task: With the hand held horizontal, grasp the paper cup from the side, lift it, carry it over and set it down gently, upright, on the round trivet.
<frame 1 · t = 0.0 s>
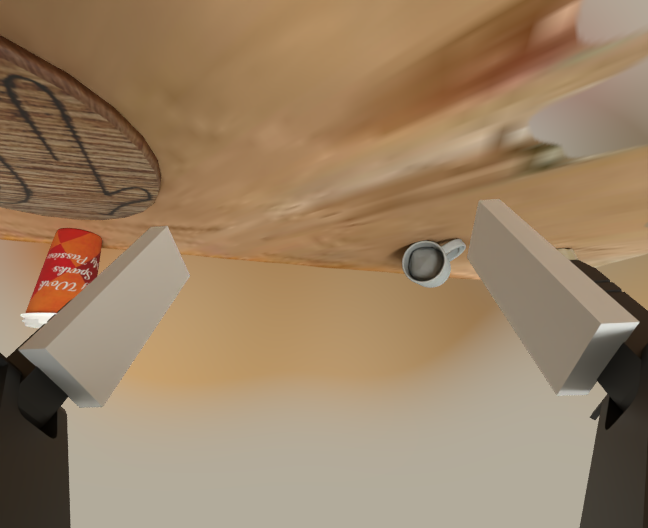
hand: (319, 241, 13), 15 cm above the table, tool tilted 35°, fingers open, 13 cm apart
ceramic mug: (431, 244, 55), on the table
paper cup: (80, 234, 46), on the table
trivet: (9, 136, 27), on the table
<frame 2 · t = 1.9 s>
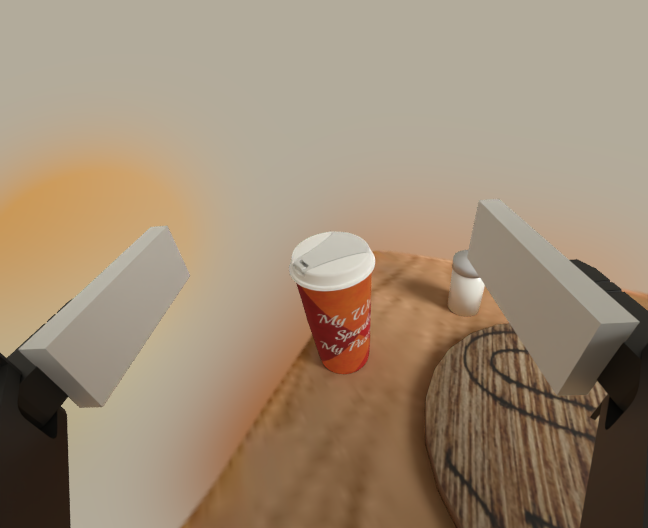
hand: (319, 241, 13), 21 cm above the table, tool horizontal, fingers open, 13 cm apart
salt shaker: (462, 306, 37), on the table
paper cup: (345, 353, 34), on the table
trivet: (591, 458, 23), on the table
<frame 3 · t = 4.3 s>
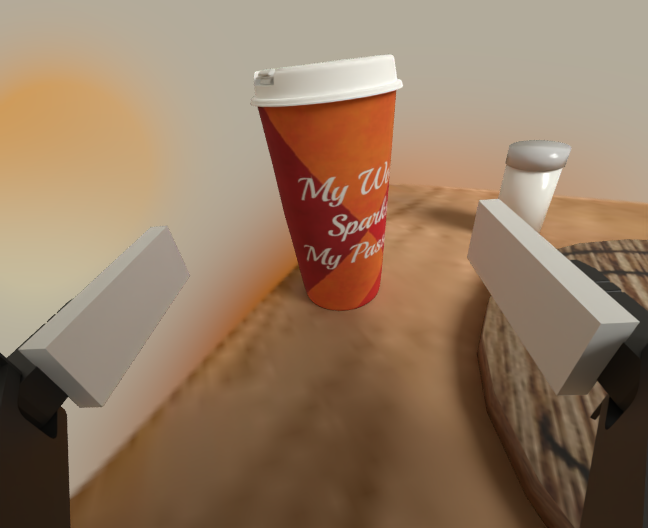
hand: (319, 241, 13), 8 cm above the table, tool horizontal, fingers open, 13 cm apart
salt shaker: (513, 232, 26), on the table
paper cup: (343, 286, 22), on the table
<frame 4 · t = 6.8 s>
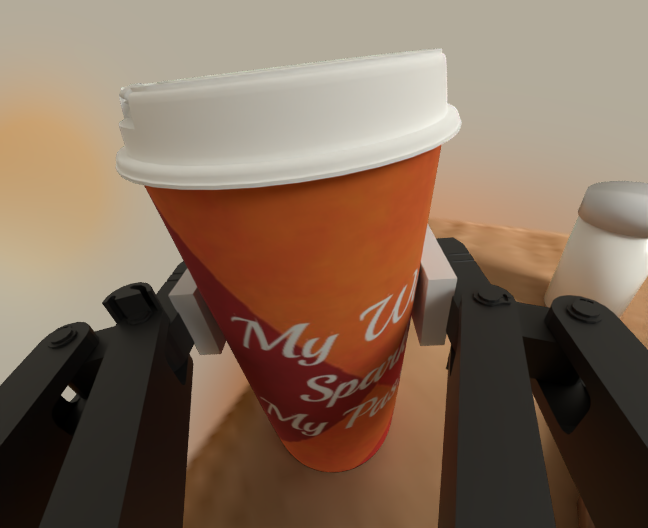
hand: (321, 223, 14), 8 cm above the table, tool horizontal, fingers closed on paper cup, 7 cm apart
salt shaker: (579, 306, 18), on the table
paper cup: (334, 409, 15), on the table, touching gripper
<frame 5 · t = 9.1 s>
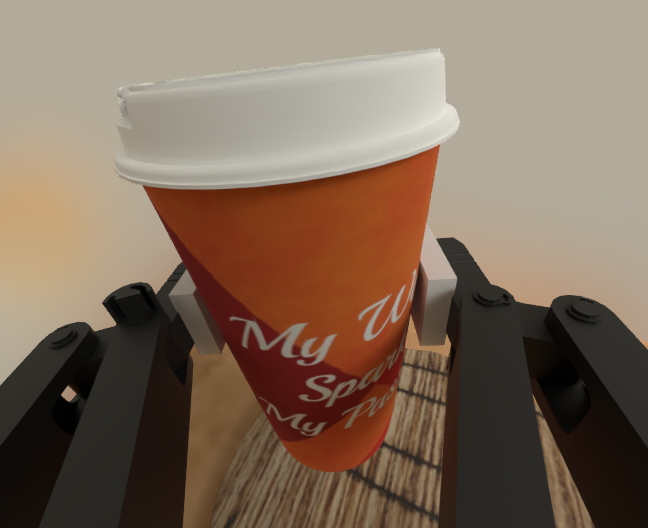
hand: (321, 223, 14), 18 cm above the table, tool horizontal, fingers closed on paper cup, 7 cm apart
paper cup: (334, 409, 15), point 10 cm above the table, touching gripper
trivet: (410, 526, 19), on the table
when the fingers open (11 cm above the table, at t = 11.6 s): paper cup drops 2 cm, resting on trivet.
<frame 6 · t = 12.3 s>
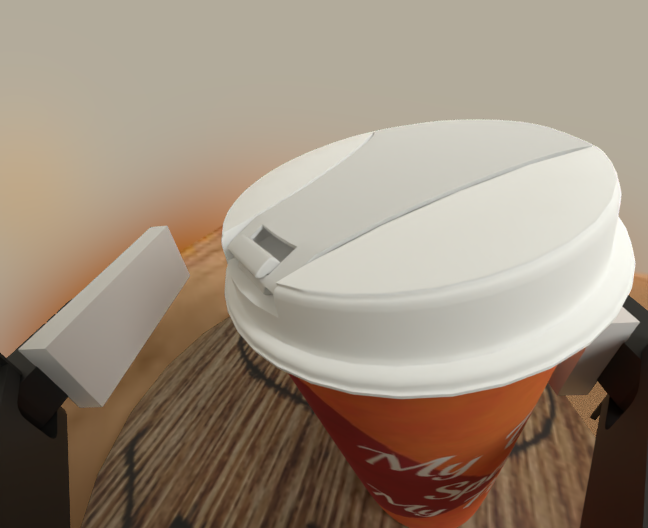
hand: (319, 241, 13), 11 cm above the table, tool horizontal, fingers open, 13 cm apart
paper cup: (420, 456, 14), point 1 cm above the table, touching gripper, trivet
trivet: (340, 445, 17), on the table, touching paper cup
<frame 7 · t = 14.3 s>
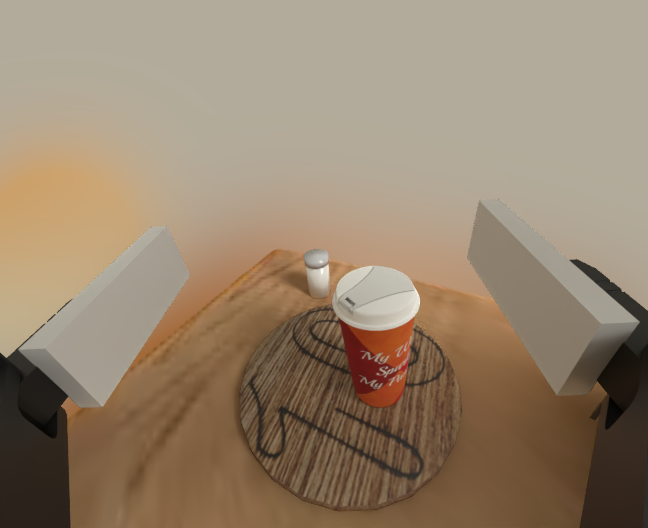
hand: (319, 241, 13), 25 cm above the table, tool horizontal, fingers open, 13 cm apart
salt shaker: (319, 291, 50), on the table
paper cup: (379, 385, 33), point 1 cm above the table, touching trivet
trivet: (347, 385, 36), on the table, touching paper cup
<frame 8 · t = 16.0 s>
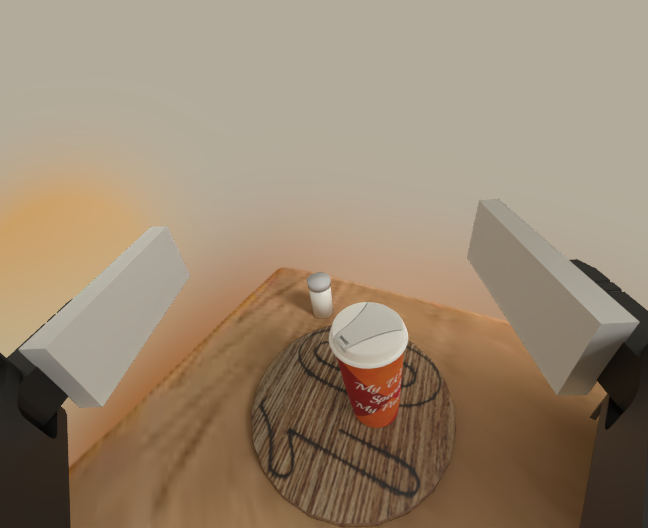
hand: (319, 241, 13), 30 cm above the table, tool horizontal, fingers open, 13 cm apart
salt shaker: (323, 311, 52), on the table
paper cup: (375, 405, 36), point 1 cm above the table, touching trivet
trivet: (350, 405, 39), on the table, touching paper cup
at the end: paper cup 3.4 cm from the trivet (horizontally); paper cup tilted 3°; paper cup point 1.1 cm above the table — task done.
